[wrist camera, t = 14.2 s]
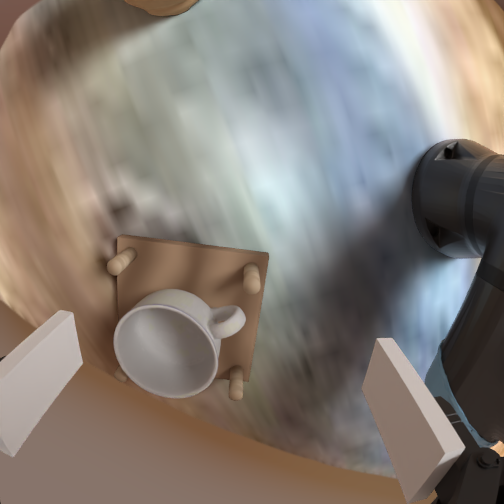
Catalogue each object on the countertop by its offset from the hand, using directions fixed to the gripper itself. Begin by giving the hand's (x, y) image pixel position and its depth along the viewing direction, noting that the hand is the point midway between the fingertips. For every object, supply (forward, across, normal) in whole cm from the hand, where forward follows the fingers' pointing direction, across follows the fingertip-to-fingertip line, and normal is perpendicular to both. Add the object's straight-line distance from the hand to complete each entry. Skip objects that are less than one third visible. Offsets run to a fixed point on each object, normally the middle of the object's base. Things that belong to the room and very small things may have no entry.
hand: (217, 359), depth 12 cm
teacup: (+22, +5, +10) cm, 25 cm away
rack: (+23, +6, +10) cm, 26 cm away
